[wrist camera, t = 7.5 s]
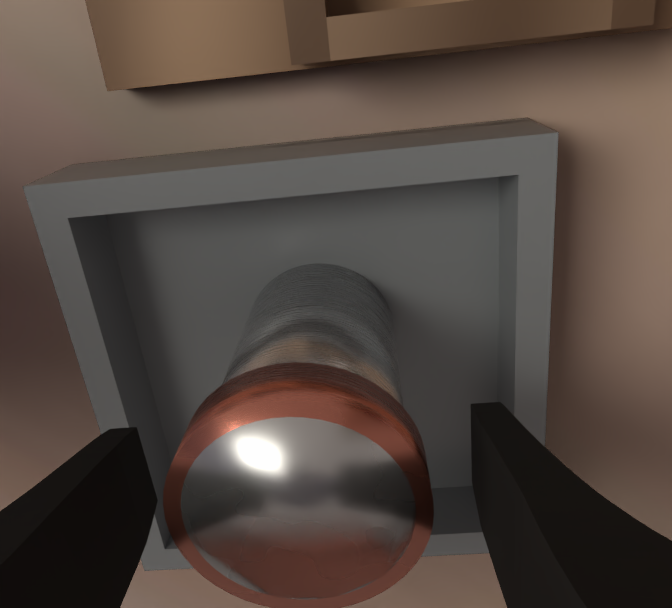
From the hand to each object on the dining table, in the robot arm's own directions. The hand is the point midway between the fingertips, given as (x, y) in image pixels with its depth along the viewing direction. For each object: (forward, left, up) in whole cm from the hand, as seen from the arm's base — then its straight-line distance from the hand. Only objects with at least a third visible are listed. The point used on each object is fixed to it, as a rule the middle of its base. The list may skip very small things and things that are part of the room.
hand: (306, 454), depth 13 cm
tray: (0, 0, -5) cm, 5 cm away
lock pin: (0, +1, -4) cm, 4 cm away
